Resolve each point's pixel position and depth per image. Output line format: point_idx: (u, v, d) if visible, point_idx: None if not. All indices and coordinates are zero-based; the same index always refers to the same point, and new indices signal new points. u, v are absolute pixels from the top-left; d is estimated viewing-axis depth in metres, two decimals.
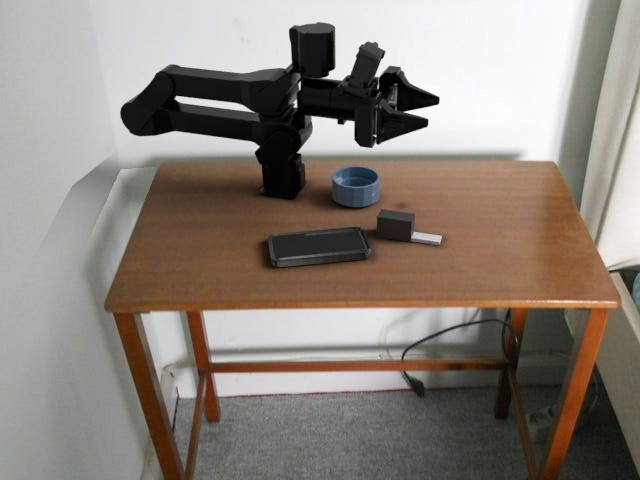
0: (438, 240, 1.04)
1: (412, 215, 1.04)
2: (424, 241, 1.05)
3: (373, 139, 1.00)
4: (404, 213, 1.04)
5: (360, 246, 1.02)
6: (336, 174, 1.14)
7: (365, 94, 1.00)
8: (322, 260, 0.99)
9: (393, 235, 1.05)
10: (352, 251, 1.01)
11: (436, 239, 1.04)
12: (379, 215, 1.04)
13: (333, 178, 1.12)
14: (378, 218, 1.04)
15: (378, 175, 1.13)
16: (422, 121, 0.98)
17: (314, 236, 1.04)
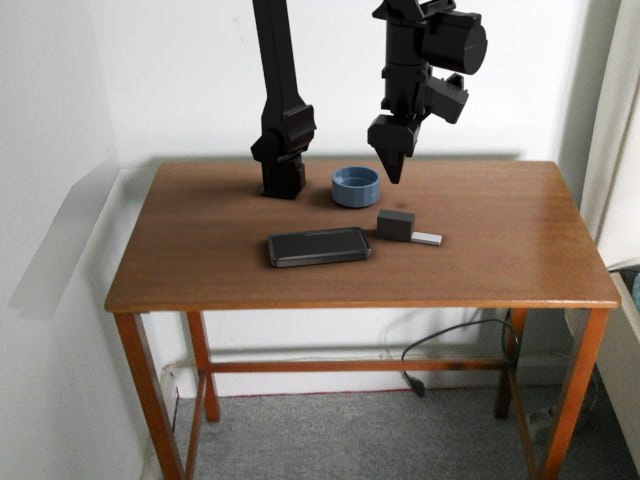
0: (438, 240, 1.04)
1: (412, 215, 1.04)
2: (424, 241, 1.05)
3: None
4: (404, 213, 1.04)
5: (360, 246, 1.02)
6: (336, 174, 1.14)
7: (418, 110, 0.90)
8: (322, 260, 0.99)
9: (393, 235, 1.05)
10: (352, 251, 1.01)
11: (436, 239, 1.04)
12: (379, 215, 1.04)
13: (333, 178, 1.12)
14: (378, 218, 1.04)
15: (378, 175, 1.13)
16: (396, 179, 0.95)
17: (314, 236, 1.04)
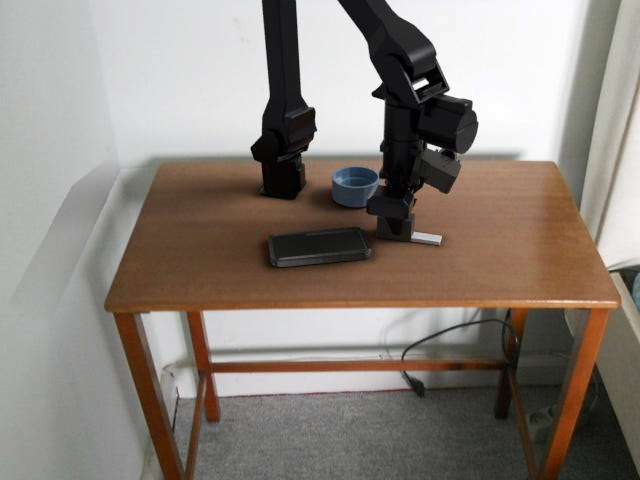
0: (438, 240, 1.04)
1: (412, 215, 1.04)
2: (424, 241, 1.05)
3: None
4: None
5: (360, 246, 1.02)
6: (336, 174, 1.14)
7: (413, 181, 0.96)
8: (322, 260, 0.99)
9: (392, 235, 1.05)
10: (352, 251, 1.01)
11: (436, 239, 1.04)
12: None
13: (333, 178, 1.12)
14: (378, 218, 1.04)
15: (378, 175, 1.13)
16: (397, 231, 1.04)
17: (314, 236, 1.04)
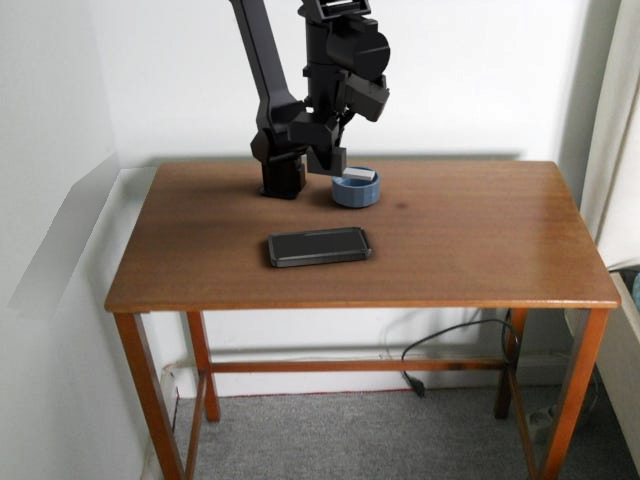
0: (370, 175, 1.00)
1: (343, 149, 1.00)
2: (356, 176, 1.01)
3: None
4: (335, 147, 1.00)
5: (360, 246, 1.02)
6: None
7: (339, 108, 0.92)
8: (322, 260, 0.99)
9: (323, 170, 1.01)
10: (352, 251, 1.01)
11: (368, 174, 1.00)
12: (308, 149, 1.00)
13: (333, 178, 1.12)
14: (307, 152, 1.00)
15: (378, 175, 1.13)
16: (327, 165, 1.00)
17: (314, 236, 1.04)
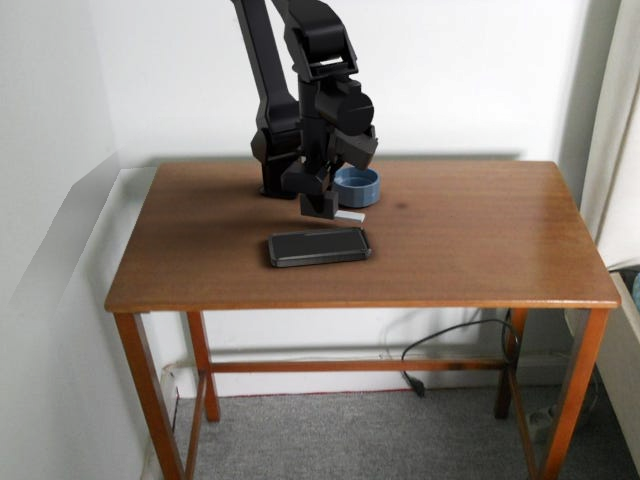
0: (360, 218, 1.05)
1: (334, 193, 1.05)
2: (347, 219, 1.06)
3: None
4: (327, 191, 1.05)
5: (360, 246, 1.02)
6: (336, 174, 1.14)
7: (330, 158, 0.97)
8: (322, 260, 0.99)
9: (316, 213, 1.06)
10: (352, 251, 1.01)
11: (358, 217, 1.05)
12: None
13: None
14: (301, 196, 1.05)
15: (378, 175, 1.13)
16: (320, 209, 1.05)
17: (314, 236, 1.04)
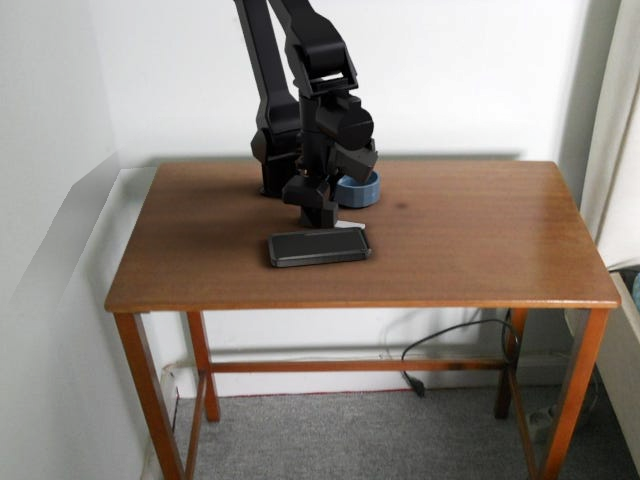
0: None
1: (335, 204, 1.06)
2: None
3: None
4: (327, 202, 1.07)
5: (360, 246, 1.02)
6: None
7: (330, 171, 0.99)
8: (322, 260, 0.99)
9: None
10: (352, 251, 1.01)
11: None
12: None
13: None
14: None
15: (378, 175, 1.13)
16: (318, 224, 1.05)
17: (314, 236, 1.04)
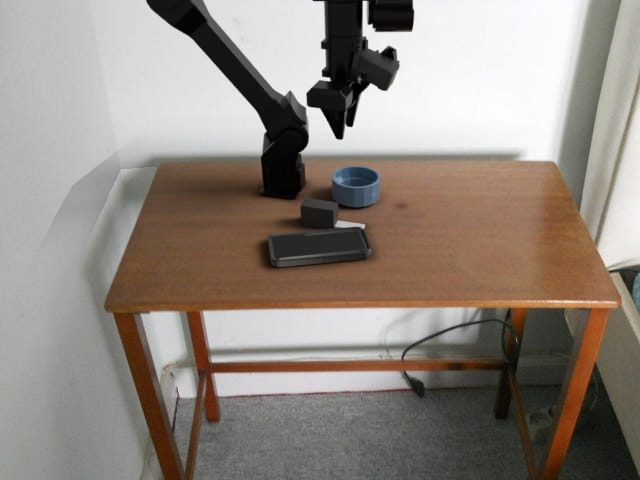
0: None
1: (335, 204, 1.06)
2: None
3: None
4: (327, 202, 1.07)
5: (360, 246, 1.02)
6: (336, 174, 1.14)
7: (353, 78, 1.02)
8: (322, 260, 0.99)
9: (316, 223, 1.07)
10: (352, 251, 1.01)
11: None
12: (302, 204, 1.06)
13: (333, 178, 1.12)
14: (301, 207, 1.06)
15: (378, 175, 1.13)
16: (340, 135, 1.09)
17: (314, 236, 1.04)
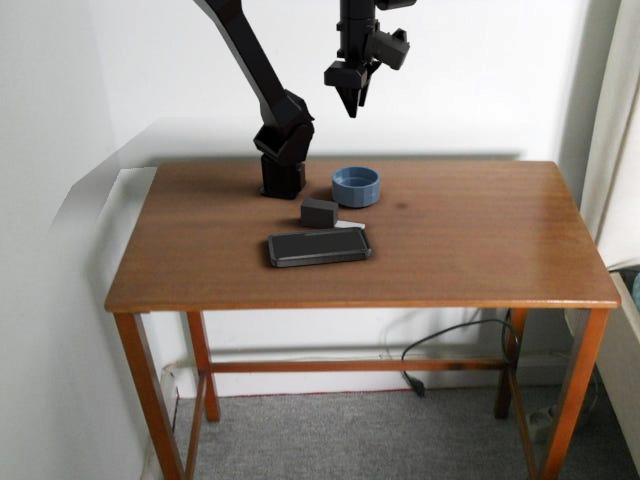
0: None
1: (335, 204, 1.06)
2: None
3: None
4: (327, 202, 1.07)
5: (360, 246, 1.02)
6: (336, 174, 1.14)
7: (367, 58, 1.08)
8: (322, 260, 0.99)
9: (316, 223, 1.07)
10: (352, 251, 1.01)
11: None
12: (302, 204, 1.06)
13: (333, 178, 1.12)
14: (301, 207, 1.06)
15: (378, 175, 1.13)
16: (353, 113, 1.15)
17: (314, 236, 1.04)
